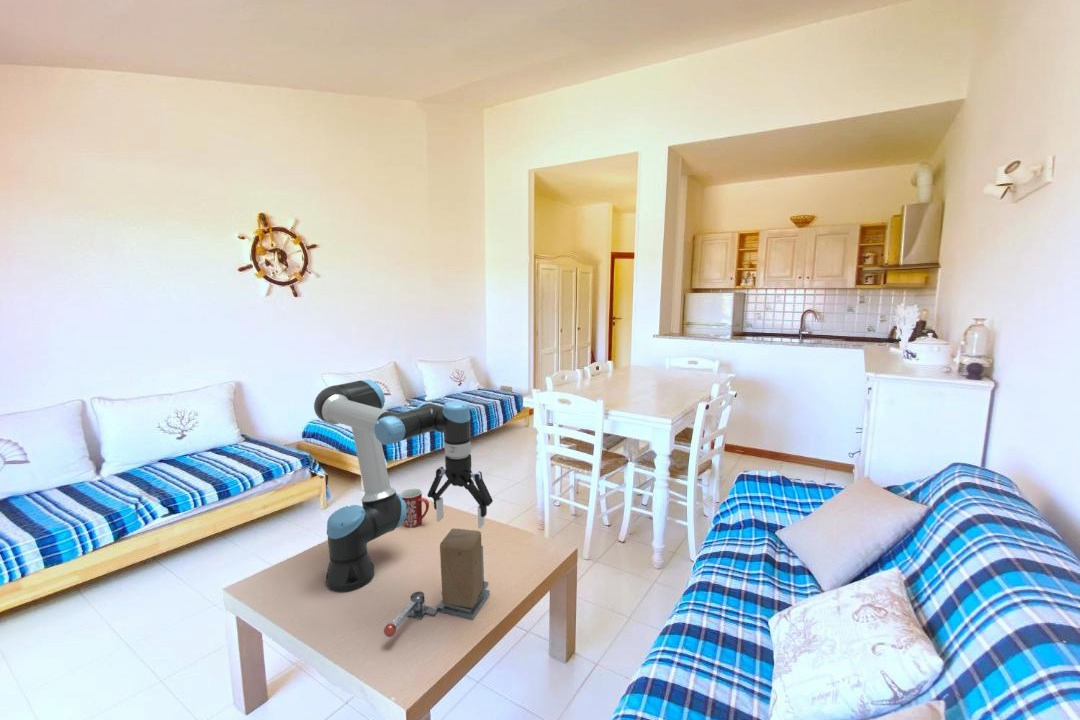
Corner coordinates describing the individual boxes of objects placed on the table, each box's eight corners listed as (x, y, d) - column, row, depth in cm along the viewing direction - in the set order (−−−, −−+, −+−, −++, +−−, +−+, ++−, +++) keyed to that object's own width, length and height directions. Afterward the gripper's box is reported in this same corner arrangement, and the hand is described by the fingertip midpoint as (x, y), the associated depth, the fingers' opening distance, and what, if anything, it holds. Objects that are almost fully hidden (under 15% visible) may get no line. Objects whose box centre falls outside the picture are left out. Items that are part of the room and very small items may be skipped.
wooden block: (473, 609, 141) (470, 547, 138) (441, 605, 143) (438, 543, 140) (483, 588, 150) (482, 529, 147) (453, 585, 152) (451, 526, 149)
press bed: (406, 616, 141) (403, 573, 139) (442, 575, 161) (440, 536, 159) (465, 630, 135) (464, 585, 133) (495, 586, 155) (494, 546, 153)
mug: (396, 526, 194) (394, 494, 192) (411, 516, 202) (409, 486, 200) (421, 532, 188) (419, 500, 186) (435, 522, 196) (434, 491, 194)
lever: (380, 637, 129) (379, 627, 128) (415, 598, 145) (415, 588, 144) (393, 641, 127) (392, 630, 127) (427, 600, 143) (426, 591, 143)
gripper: (413, 454, 139) (417, 522, 143) (492, 464, 132) (493, 535, 135) (427, 446, 146) (430, 511, 150) (502, 454, 139) (504, 522, 142)
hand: (460, 522), depth 143 cm, fingers open, 13 cm apart
